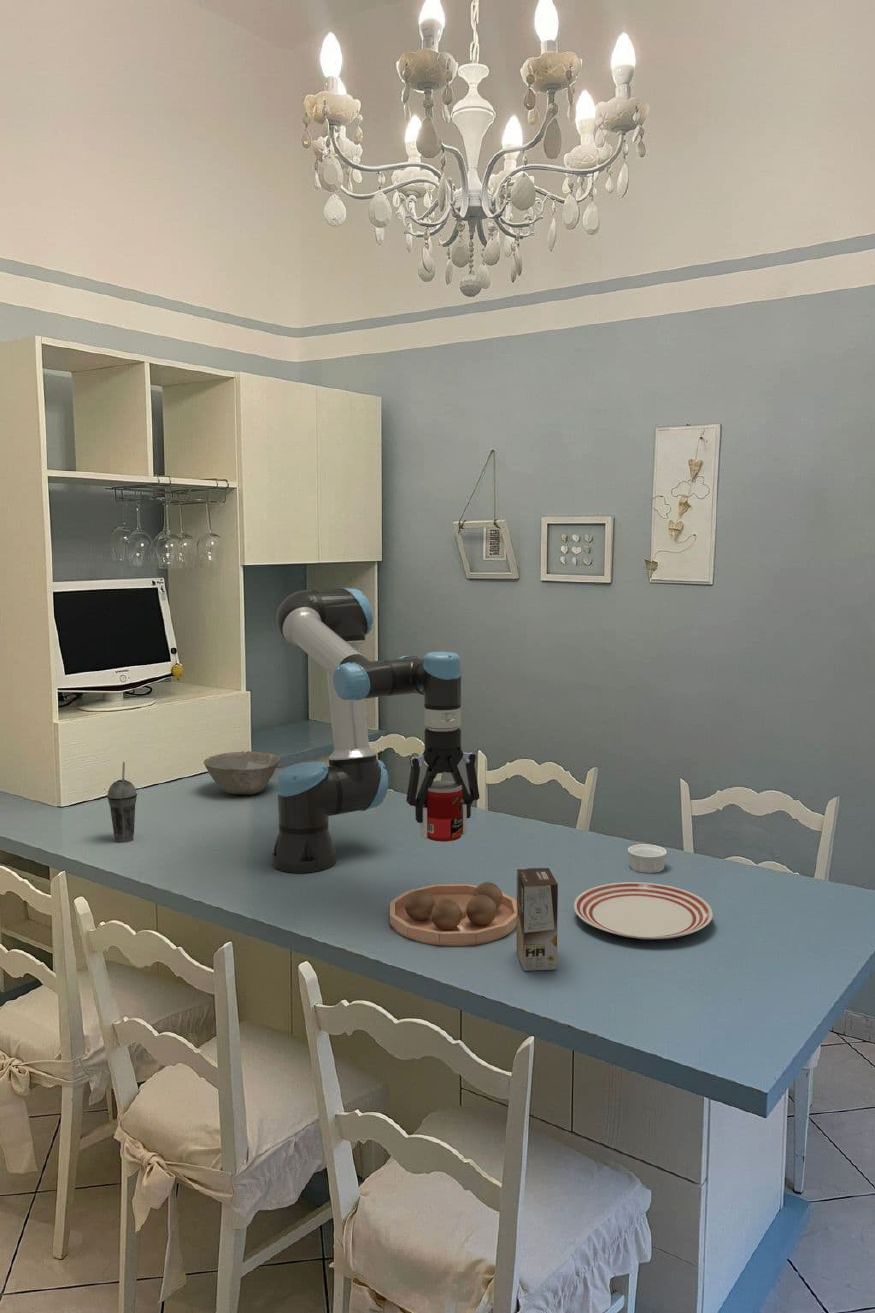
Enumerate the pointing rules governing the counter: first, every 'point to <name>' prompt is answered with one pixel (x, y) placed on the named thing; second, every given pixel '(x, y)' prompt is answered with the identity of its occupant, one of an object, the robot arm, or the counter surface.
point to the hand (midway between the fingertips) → (443, 835)
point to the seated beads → (455, 907)
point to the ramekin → (647, 858)
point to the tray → (466, 929)
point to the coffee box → (537, 919)
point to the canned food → (444, 811)
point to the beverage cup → (122, 808)
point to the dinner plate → (643, 910)
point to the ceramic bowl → (242, 771)
